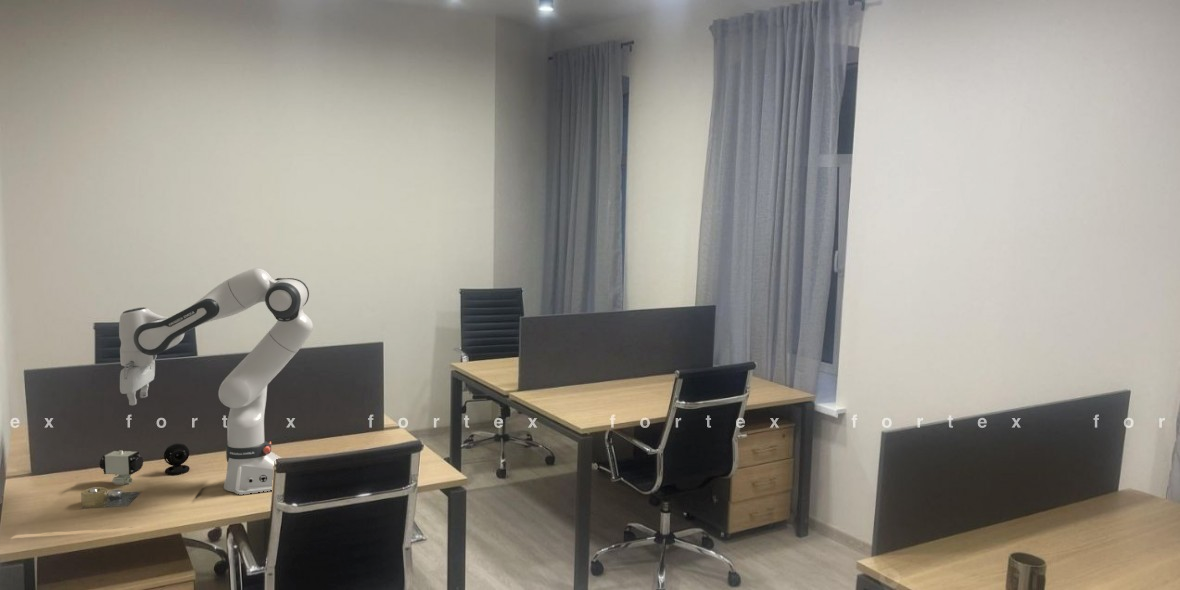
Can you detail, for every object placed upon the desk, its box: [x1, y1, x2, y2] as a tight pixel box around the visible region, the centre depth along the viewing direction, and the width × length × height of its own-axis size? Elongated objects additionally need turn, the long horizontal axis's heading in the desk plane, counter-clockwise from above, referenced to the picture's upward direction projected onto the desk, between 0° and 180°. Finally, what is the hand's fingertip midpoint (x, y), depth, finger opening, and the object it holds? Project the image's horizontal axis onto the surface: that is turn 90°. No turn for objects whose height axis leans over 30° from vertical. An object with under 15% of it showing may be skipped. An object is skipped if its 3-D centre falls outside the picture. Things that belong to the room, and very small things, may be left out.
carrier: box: [79, 487, 142, 510], centre depth 231 cm, size 13×12×5 cm
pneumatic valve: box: [99, 449, 144, 486], centre depth 246 cm, size 6×12×12 cm, turn 89°
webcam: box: [163, 443, 190, 476], centre depth 259 cm, size 8×8×10 cm
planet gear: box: [80, 486, 108, 507], centre depth 229 cm, size 6×6×4 cm
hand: (138, 401), depth 241 cm, fingers open, 8 cm apart
